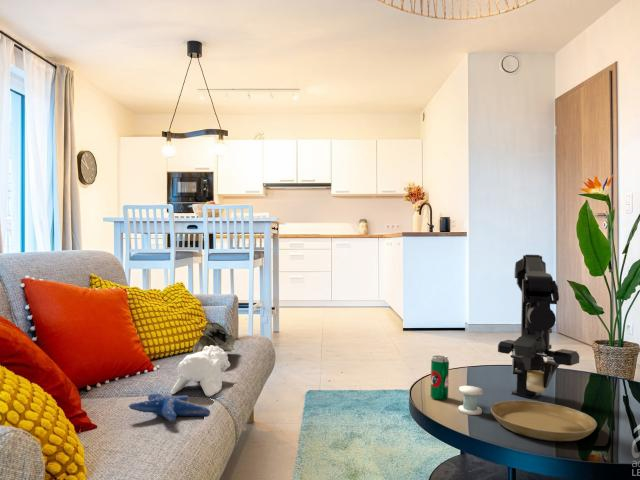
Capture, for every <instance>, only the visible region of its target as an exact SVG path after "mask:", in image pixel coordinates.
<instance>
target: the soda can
mask: <svg viewBox="0 0 640 480" xmlns="http://www.w3.org/2000/svg"><path fill="white" fill-rule="evenodd" d="M449 360H450V359H449V357H447V356H445V355H440V354H439V355H433V356H432V358H431V360H430V393H429V394H430V395H429V396H430V397H431V398H432V400H435V401H446V400H447V399H448V398H449V381H450V379H449V377H450V376H449V375H450V373H449V372H450V361H449Z"/></svg>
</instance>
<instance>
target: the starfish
mask: <svg viewBox="0 0 640 480" xmlns="http://www.w3.org/2000/svg"><path fill="white" fill-rule="evenodd" d="M128 408H129V409H130V410H135V411H137V412H142V413H152V414H157V415H158V416H162V417H164V419H166V420H168V421H169V422H174V421H175V420H176V419H177V416H180V417H181V416H184V417H201V418H207V417H209V416H210V415H211V410H210V409H209V408H207V407H205V406H202V405H199V404H196V403H195V404H194V403H192V402H189V396H188V395H173V394H172V395H167V394H166V395H165V394H162V393H151V394H149V395H148V396H147V400H145V401H140V402H134V403H130V404H129V405H128Z"/></svg>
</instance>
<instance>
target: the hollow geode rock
mask: <svg viewBox="0 0 640 480" xmlns="http://www.w3.org/2000/svg"><path fill="white" fill-rule="evenodd" d="M200 333H201V334H203V335H202V336H200V337H199V339H198V341H196V343H194V345H193V347H192V354H195V353H197V352H202V351H203V348H204V347H205V346H208V347H209V346H211V345H213V346H214V347H215V346H218V347H219V348H221V349H223V350H224V352H226V353H227V352H230V353H231V352H232V351H234V350H235V347H234V345H235V342H236V341H237V339H236V338H235V337H233V335H232V334H231V335H230V334H229V333H228V332H227V330H226V328H225V327H223V326H222V325H220V324H219V323H217V322H209V321H208V322H206V323H205V328H204V329H201V330H200Z"/></svg>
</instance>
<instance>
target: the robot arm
mask: <svg viewBox="0 0 640 480" xmlns="http://www.w3.org/2000/svg"><path fill="white" fill-rule="evenodd" d="M546 267H547V265H546V262H545V261H544V260H543V256H542V255H540V254H524V255H523V256H522V258H520V259H519V260H517V261H516V262H515V266H514V279H516V285H517V286H518V288H519V290H520V291H521V316H520V317H521V318H520V319H521V324H520V325H521V327H520V336H518V338H517V339H515V340H512V339H505V340H500V342H499V343H498V345H497V353H500V354H501V353H502V354H507V355H509V354H510V353H511V355H510V358H512V360H511V373H512V375H516V389H515V390H513V391H511V394H512V395H515V396H521V397H525V398H528V399H535V398H537V397H540V396H542V392H534V391H530V390H527V371H528V370H537V371H542V372H544V388H545V389H548V387H549V385H550V382H551V381H552V378H553V376H554V374H555V373H556V370H557V369H558V367H559V366H561V365H562V366H569V367H570V366H571V367H572V366H573V365H577V364H580V355H579V353H578V351H577V350H570V349H566V348H562V349H557V350H552V344H550V340H551V339H550V335H551V334H552V333H553V329H552V328H553V327H554V326H555V325H556V321H557V320H556V319H557V318H556V315H555V312H554V311H553V310H552V309H551V305H558V302H559V299H560V296H559V295H560V293H559V287H558V285H557V282H556V280H554V279H553V276H552V275H551V273H548V272H547V268H546ZM544 358H546V359H547V361H546V360H545V359H544Z"/></svg>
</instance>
